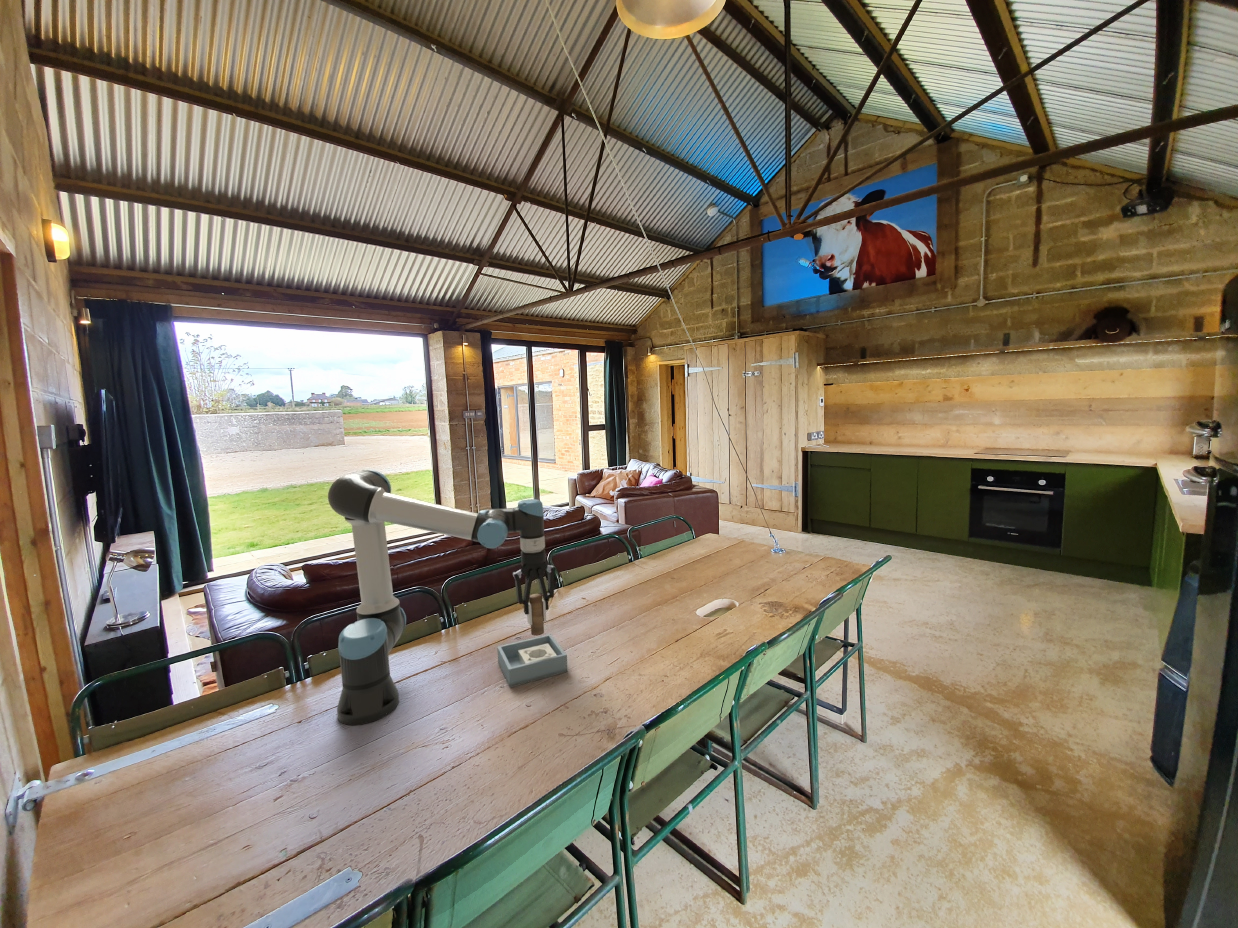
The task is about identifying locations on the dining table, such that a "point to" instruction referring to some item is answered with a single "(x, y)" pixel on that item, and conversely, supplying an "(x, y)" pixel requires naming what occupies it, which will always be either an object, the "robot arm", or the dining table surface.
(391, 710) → the robot arm
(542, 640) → the box
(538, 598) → the peg
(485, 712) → the dining table surface
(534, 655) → the plate
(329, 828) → the dining table surface
